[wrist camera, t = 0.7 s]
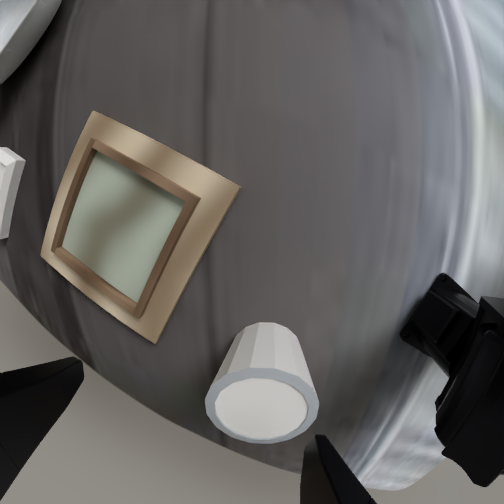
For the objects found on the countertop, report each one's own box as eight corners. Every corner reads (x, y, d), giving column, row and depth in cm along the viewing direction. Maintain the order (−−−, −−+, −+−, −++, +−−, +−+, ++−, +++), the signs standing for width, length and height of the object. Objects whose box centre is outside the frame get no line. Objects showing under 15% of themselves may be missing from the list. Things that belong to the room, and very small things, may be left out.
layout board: (241, 187, 19) (238, 186, 17) (159, 338, 22) (151, 349, 20) (99, 113, 18) (87, 108, 16) (47, 253, 21) (34, 257, 19)
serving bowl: (-15, 54, 17) (-41, 47, 10) (75, -40, 13) (53, -58, 6) (-11, 137, 19) (-49, 135, 13) (102, 10, 16) (67, -19, 9)
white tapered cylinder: (279, 298, 20) (281, 348, 13) (323, 362, 21) (337, 421, 14) (206, 339, 21) (181, 394, 14) (254, 395, 22) (246, 454, 15)
